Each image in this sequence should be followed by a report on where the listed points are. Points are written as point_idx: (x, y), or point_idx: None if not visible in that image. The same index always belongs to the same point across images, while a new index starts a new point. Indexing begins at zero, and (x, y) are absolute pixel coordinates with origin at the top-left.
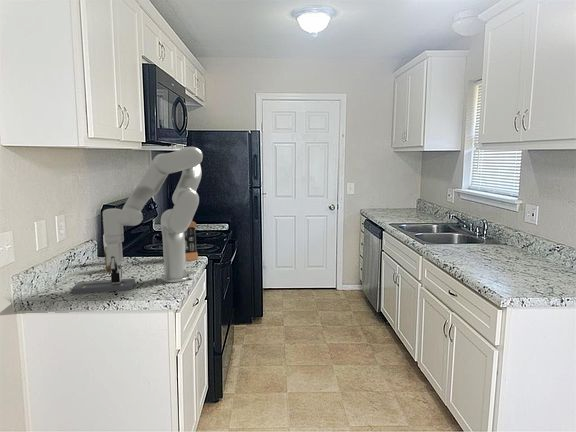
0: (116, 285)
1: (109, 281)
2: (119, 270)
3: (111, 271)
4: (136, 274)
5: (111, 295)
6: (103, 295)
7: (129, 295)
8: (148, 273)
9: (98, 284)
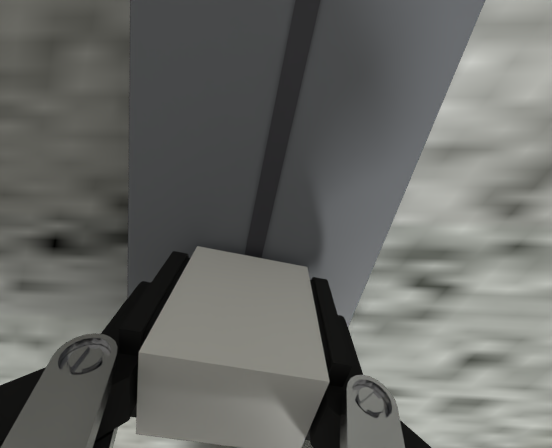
0: (151, 274)
1: (326, 218)
2: (200, 438)
3: (47, 377)
4: (528, 382)
5: (26, 208)
6: (33, 142)
7: (13, 320)
8: (491, 434)
9: (259, 95)
